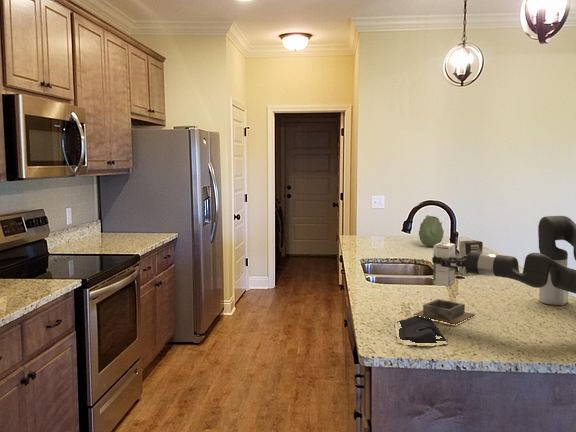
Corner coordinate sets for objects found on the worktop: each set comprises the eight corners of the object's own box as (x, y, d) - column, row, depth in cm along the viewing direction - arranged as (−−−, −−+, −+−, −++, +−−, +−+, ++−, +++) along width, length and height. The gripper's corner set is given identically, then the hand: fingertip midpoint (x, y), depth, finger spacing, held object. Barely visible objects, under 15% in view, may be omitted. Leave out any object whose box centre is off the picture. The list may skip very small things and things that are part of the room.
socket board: (474, 316, 175) (474, 304, 174) (455, 326, 165) (455, 313, 165) (433, 308, 186) (433, 296, 186) (413, 316, 177) (413, 304, 176)
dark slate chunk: (437, 324, 169) (437, 311, 168) (449, 349, 147) (449, 333, 147) (391, 324, 171) (391, 310, 171) (397, 347, 149) (397, 332, 149)
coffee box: (466, 276, 235) (466, 242, 233) (458, 273, 241) (458, 241, 239) (482, 274, 237) (483, 241, 235) (474, 271, 243) (474, 239, 242)
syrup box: (439, 281, 178) (439, 242, 177) (455, 283, 175) (455, 243, 173) (432, 284, 174) (432, 244, 173) (449, 287, 170) (449, 245, 169)
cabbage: (420, 249, 309) (420, 217, 307) (416, 244, 327) (416, 214, 325) (446, 249, 307) (446, 217, 304) (441, 244, 325) (441, 214, 323)
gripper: (473, 279, 159) (427, 272, 171) (493, 271, 168) (447, 265, 180) (473, 256, 158) (426, 250, 170) (493, 249, 168) (447, 245, 180)
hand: (437, 258), depth 175 cm, fingers closed on syrup box, 6 cm apart
